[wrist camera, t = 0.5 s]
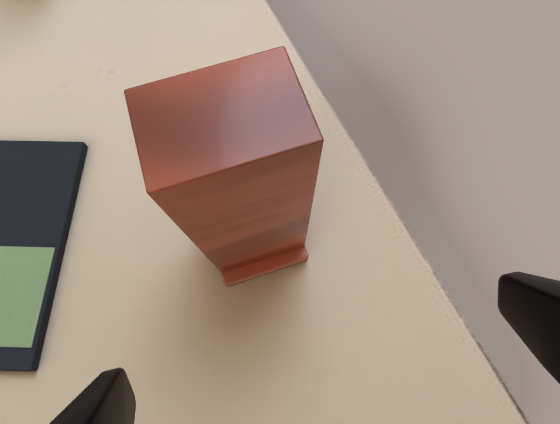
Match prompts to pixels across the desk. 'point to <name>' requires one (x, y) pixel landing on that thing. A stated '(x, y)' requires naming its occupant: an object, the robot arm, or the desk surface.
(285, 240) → the reddish brown square pillar
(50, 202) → the dark blue mat
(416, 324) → the desk surface
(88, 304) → the desk surface
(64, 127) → the desk surface
